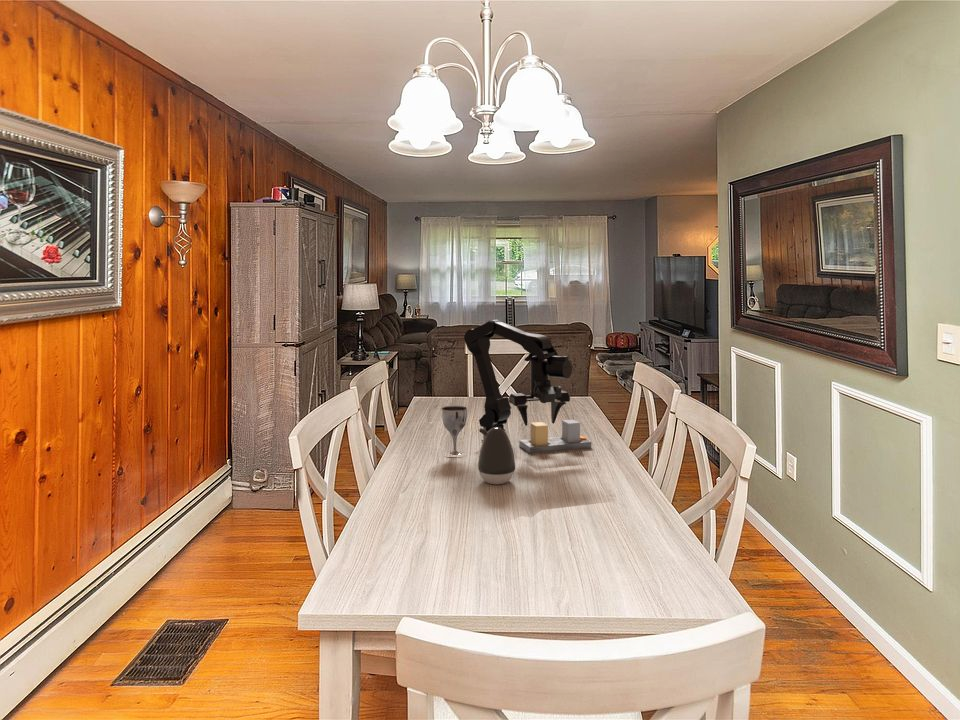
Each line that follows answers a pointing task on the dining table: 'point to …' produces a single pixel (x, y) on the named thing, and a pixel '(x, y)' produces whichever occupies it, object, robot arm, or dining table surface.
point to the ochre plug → (539, 433)
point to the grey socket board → (555, 445)
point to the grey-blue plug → (570, 431)
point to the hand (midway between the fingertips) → (539, 424)
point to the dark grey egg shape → (496, 457)
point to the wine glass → (454, 422)
